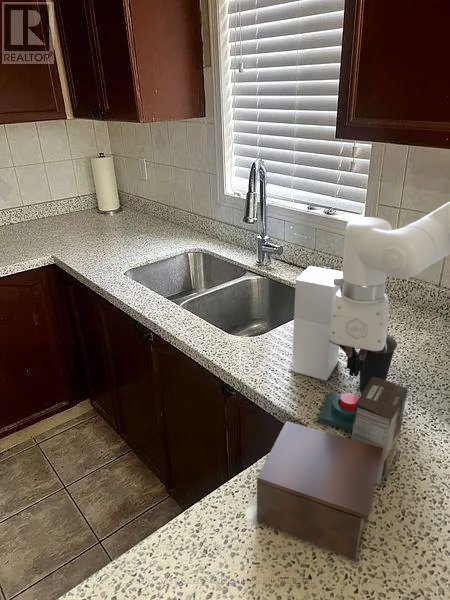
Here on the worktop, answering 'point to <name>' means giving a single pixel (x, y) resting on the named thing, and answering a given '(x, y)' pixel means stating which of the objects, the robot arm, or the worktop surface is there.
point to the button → (348, 401)
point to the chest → (309, 520)
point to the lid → (323, 468)
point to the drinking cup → (377, 364)
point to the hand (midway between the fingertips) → (354, 372)
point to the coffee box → (380, 419)
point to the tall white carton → (314, 323)
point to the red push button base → (336, 413)
